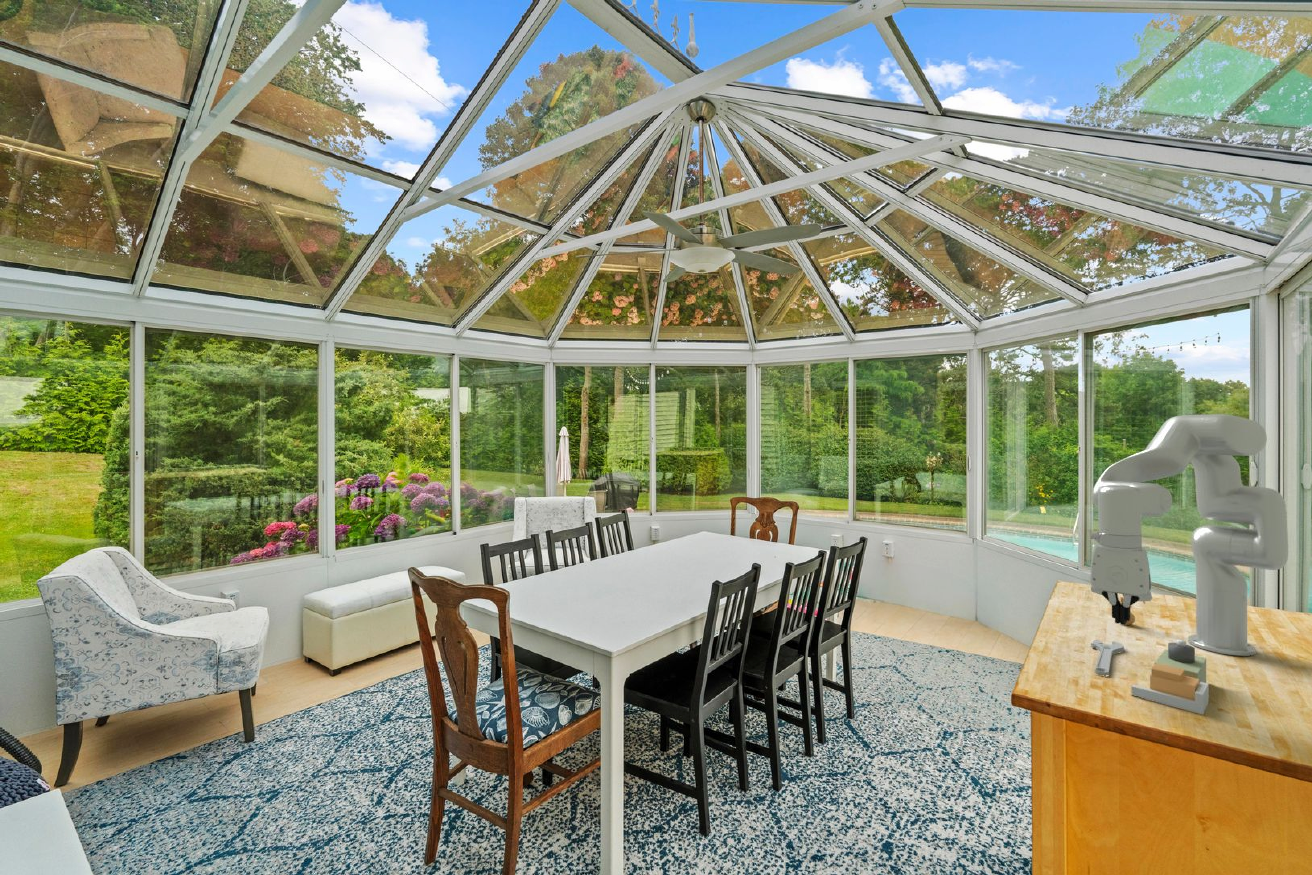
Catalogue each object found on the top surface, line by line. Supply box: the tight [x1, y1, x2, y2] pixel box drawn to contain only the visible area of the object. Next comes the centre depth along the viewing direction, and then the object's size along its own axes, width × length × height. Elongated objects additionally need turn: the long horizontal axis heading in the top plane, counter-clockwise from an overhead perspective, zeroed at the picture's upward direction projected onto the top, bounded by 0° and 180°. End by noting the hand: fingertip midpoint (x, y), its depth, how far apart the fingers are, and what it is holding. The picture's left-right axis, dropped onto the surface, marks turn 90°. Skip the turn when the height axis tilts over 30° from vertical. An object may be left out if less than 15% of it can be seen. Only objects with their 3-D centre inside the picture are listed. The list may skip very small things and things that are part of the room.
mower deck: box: [1131, 639, 1210, 716], centre depth 126 cm, size 20×11×10 cm, turn 130°
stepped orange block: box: [1149, 663, 1199, 700], centre depth 121 cm, size 5×7×6 cm
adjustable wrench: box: [1090, 639, 1125, 676], centre depth 143 cm, size 25×6×2 cm, turn 134°
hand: (1121, 622), depth 129 cm, fingers closed
